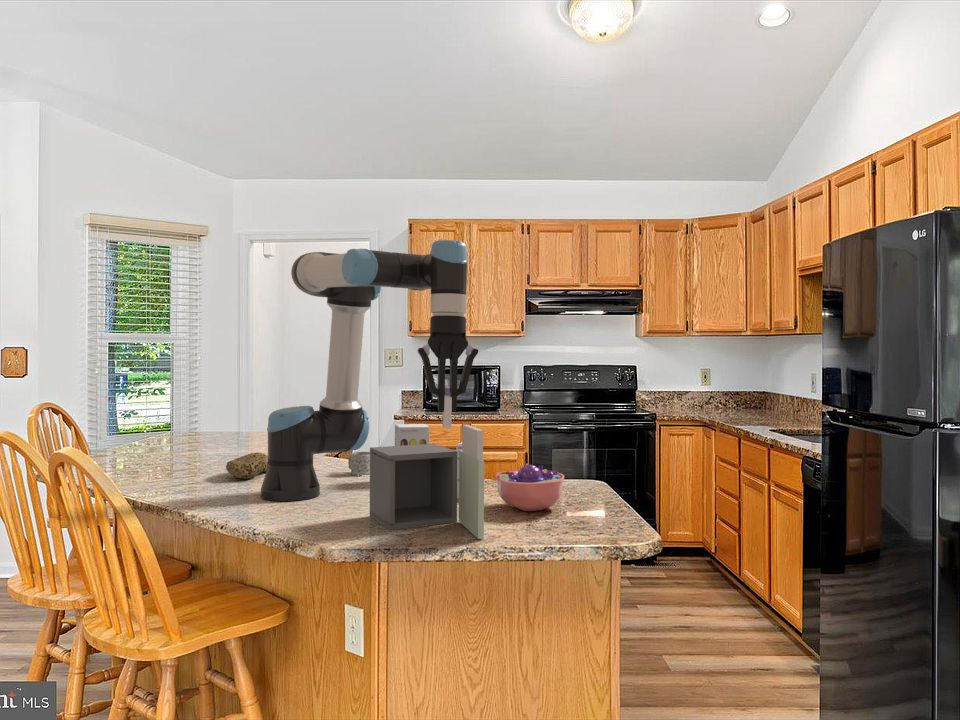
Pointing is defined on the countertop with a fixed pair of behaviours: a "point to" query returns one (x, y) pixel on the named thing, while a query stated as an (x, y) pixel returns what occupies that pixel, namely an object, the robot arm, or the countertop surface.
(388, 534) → the countertop surface
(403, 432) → the supplement box
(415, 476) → the box
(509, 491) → the cell model
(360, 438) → the robot arm
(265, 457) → the sponge
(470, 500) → the side door
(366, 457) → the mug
